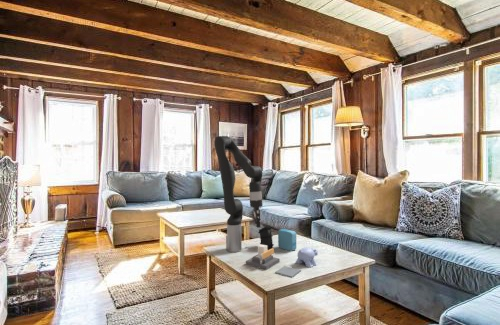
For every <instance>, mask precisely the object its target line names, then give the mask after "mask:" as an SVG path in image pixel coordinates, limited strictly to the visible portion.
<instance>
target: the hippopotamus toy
mask: <svg viewBox="0 0 500 325" xmlns="http://www.w3.org/2000/svg"><path fill="white" fill-rule="evenodd" d="M318 255H319V253H318V250H317V249H315V248H313V247H304V248H301V249H299V250H298V251H297V258H296V261H295V264H297V265H300V264H303V263H304V265H305V267H307V268H313V267H314V266H318V263H316V259H315V257H316V256H318Z"/></svg>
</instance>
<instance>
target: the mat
mask: <svg viewBox="0 0 500 325" xmlns="http://www.w3.org/2000/svg"><path fill="white" fill-rule="evenodd" d="M300 272H302V269H298V268H294V267H291V266H286V265H284V266H282V267H281V268H278V269H277V270H276V271H275V272H274V273H275V274H278V275H282V276H284V277H288V278H294V277H295V276H296V275H298V274H299V273H300Z"/></svg>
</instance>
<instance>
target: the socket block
mask: <svg viewBox="0 0 500 325" xmlns="http://www.w3.org/2000/svg"><path fill="white" fill-rule="evenodd" d="M256 256H258V253H257V254H255V255H254V256H252V257H251V258H249V259H247V260H245V266H250V267H253V268H259V269H262V270H265V271H267V270H269V269H270V268H272V267H274V266H275V265H277V264H279V263H280V260H281V259H280V258H278V257H274V255H273V254H272V255H270V256H269V257H268V258H266V259H263V260H260V258H257V257H256Z"/></svg>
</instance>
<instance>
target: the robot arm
mask: <svg viewBox="0 0 500 325" xmlns="http://www.w3.org/2000/svg"><path fill="white" fill-rule="evenodd" d="M213 142H214V144H213V145H214V149H215V153H216V155H217V156H216V157H217V160H218V165H219V172H220V179H221V184H222V186H221V187H222V191H223V192H222V193H223V207H224V210H225V212H226V214H228V215H229V217H228V218H227V220H226V224H227V225H226V233H227V234H226V236H225V244H226V245H225V250H226V251H227V252H230V253H238V252H241V251H242V249H243V248H242V221H243V213H244V212H243V211H244V210H243V209H244V208H243V202H242V201H241V200H240V199H239V198H235V194H234V188H235V184H236V173H235V168H234V166H233V164H232V163H231V162H230V160H229V159H228V156H227V154H226V151H229V152H230V153H231V154H232V155H233V159H234V161H235V163H236V164H237V165H238V166H239V167H240V168H241V169H242V171H243V173H244V174H245V176H247V178H249V179H252V181H250V182H249V184H248V185H249V186H248V187H249V207H250V208H253V217H254V224H255V225H256V226H255V227H256V228H261V209H260V208H262V207H263V193H262V186H261V184H262V179H263V170H262V167H261V166H259V165H252V161H251V159H249V157H248V156H246V155H245V154H244V153H243V152H242V151H241V150H240V148H239V146H237V144H236V143H235V141H234V140H233V139H232V138H231V137H230V136H227V135H220V136H219V135H218V136H216V137H215V138H214V141H213Z"/></svg>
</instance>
